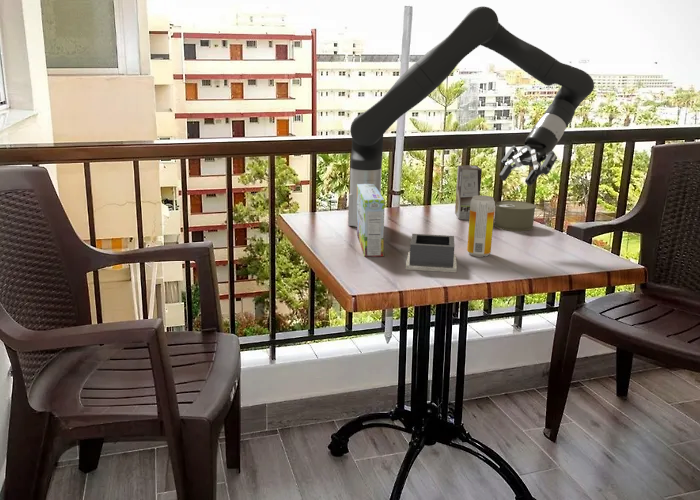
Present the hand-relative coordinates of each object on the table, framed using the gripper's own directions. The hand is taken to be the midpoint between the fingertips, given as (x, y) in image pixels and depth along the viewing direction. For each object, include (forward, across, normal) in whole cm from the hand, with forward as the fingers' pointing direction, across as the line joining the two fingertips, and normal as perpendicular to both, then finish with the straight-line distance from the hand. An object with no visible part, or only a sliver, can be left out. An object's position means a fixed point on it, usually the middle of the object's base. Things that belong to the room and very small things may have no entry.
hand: (514, 181), depth 173 cm
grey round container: (-1, -15, +27) cm, 31 cm away
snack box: (+35, -22, -9) cm, 42 cm away
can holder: (+32, -1, -7) cm, 33 cm away
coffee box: (+1, -32, +25) cm, 41 cm away
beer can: (+21, 0, +4) cm, 22 cm away
